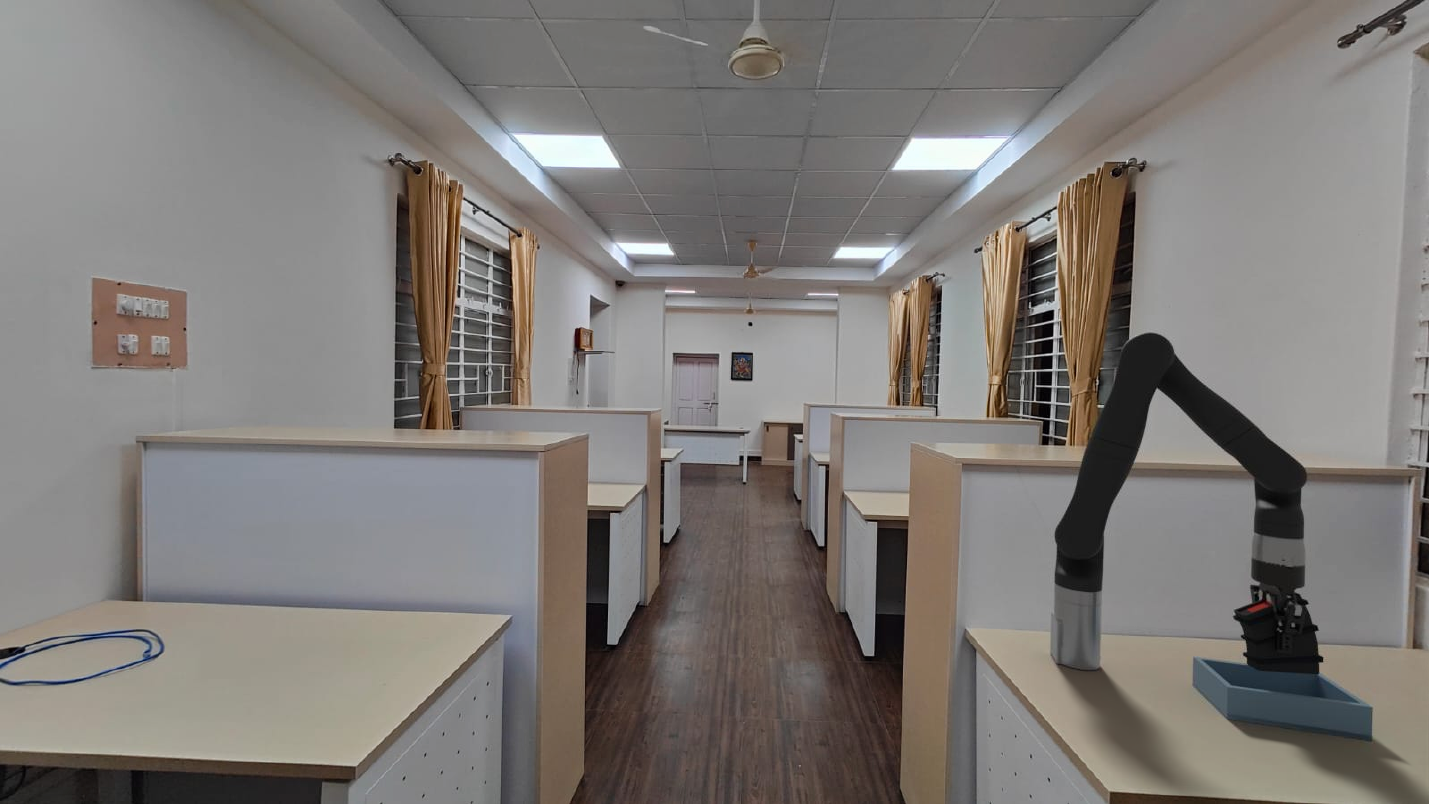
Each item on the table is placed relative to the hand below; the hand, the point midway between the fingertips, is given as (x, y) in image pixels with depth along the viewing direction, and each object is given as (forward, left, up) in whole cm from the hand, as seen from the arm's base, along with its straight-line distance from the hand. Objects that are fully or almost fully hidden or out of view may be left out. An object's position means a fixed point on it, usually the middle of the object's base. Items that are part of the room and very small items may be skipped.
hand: (1275, 646), depth 114 cm
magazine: (0, 0, -5) cm, 5 cm away
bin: (0, 0, -12) cm, 12 cm away
